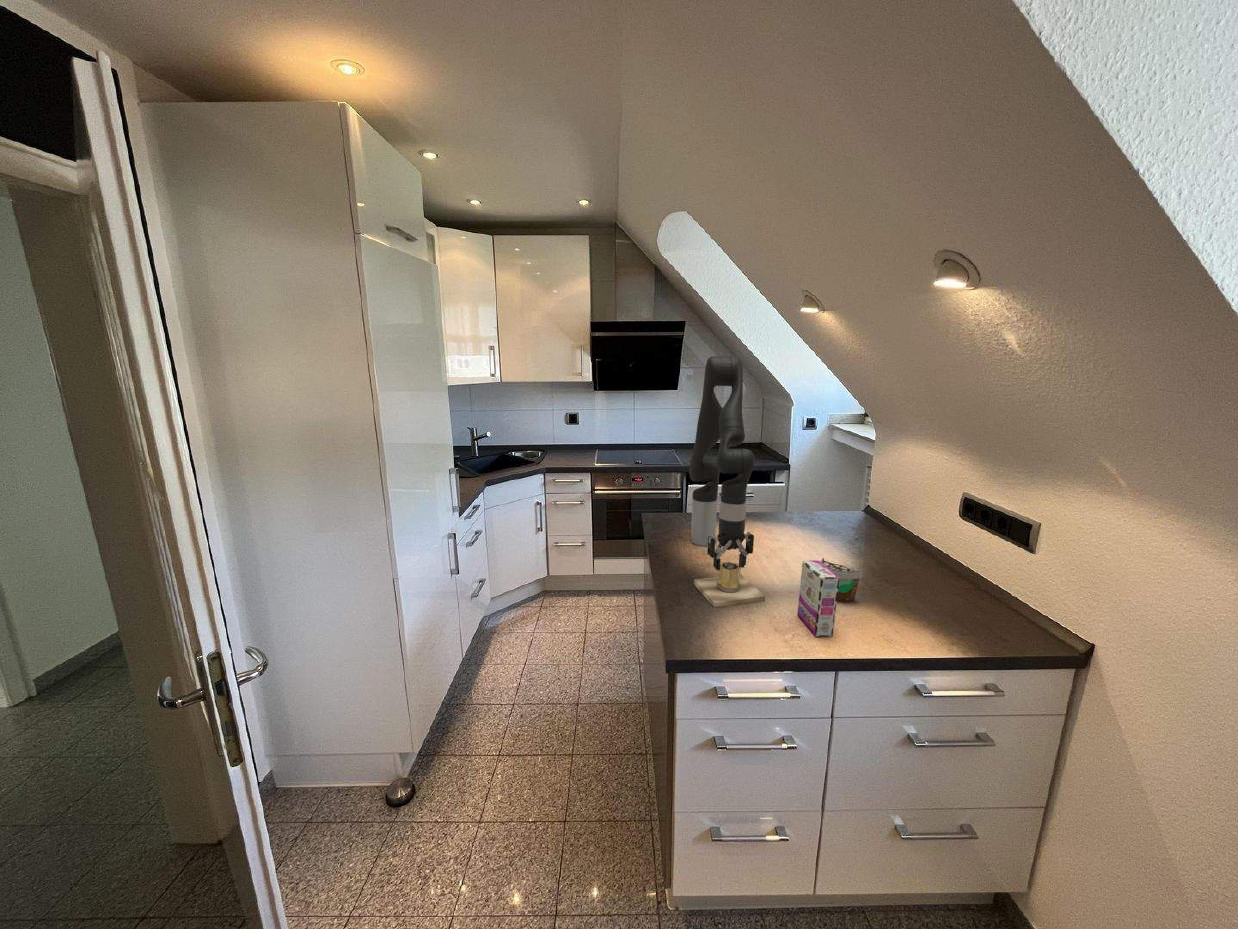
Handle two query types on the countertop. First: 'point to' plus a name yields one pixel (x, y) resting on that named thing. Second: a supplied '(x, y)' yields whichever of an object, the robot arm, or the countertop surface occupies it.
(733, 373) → the robot arm
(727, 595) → the board
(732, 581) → the collar
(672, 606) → the countertop surface
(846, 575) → the food container
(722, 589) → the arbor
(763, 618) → the countertop surface
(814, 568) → the candy bar box
